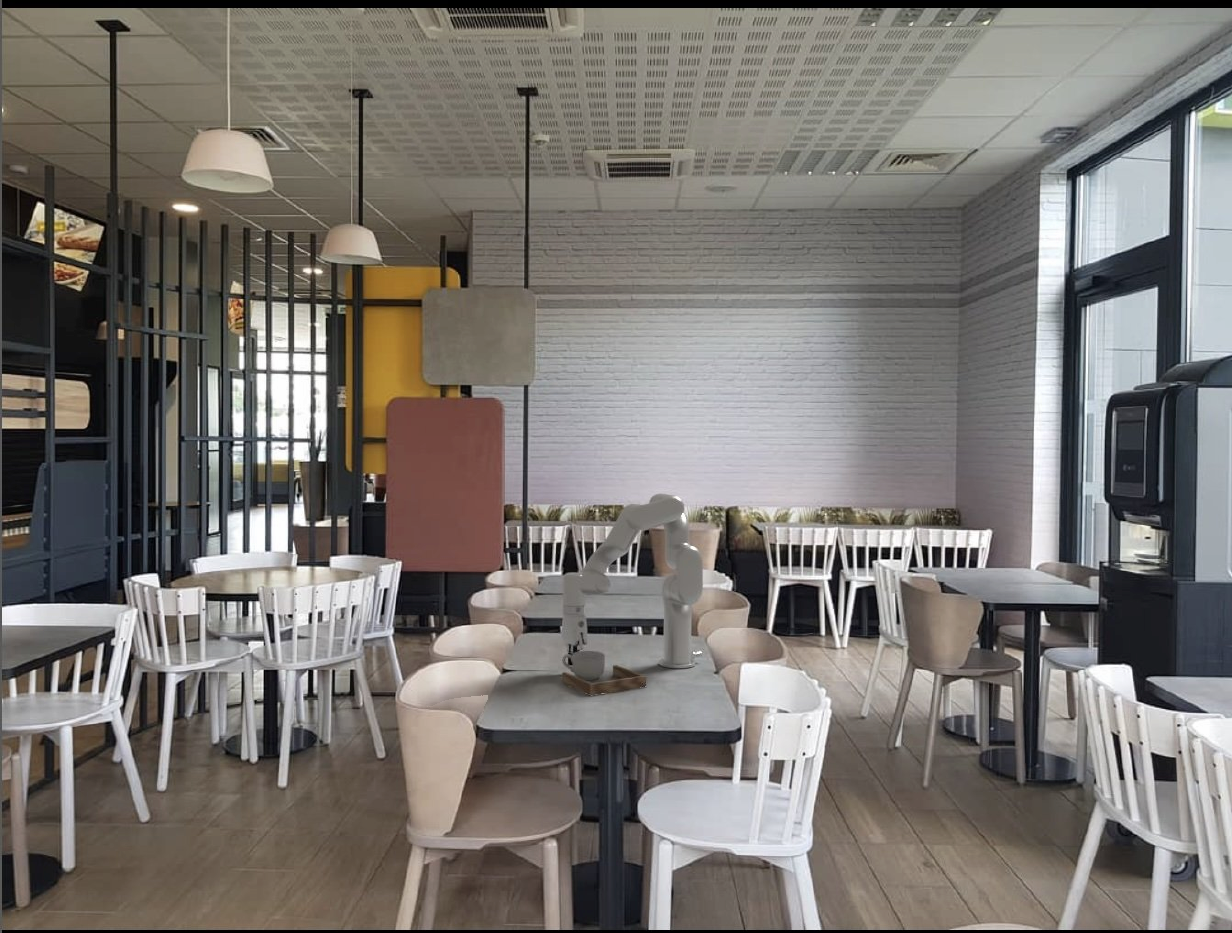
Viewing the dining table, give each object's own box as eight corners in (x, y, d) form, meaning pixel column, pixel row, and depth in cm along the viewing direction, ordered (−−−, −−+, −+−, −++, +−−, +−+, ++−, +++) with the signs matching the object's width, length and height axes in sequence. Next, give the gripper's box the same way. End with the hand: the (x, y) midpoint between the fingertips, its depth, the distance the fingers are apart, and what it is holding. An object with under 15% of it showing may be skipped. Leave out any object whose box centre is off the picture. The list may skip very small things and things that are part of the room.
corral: (615, 675, 322) (616, 665, 322) (646, 687, 307) (646, 676, 307) (562, 683, 311) (562, 672, 311) (590, 696, 296) (590, 684, 296)
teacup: (608, 675, 322) (609, 651, 322) (599, 683, 312) (599, 658, 311) (568, 672, 326) (569, 648, 325) (558, 680, 315) (558, 655, 315)
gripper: (595, 612, 320) (594, 668, 320) (572, 605, 332) (572, 659, 333) (575, 614, 316) (574, 670, 316) (553, 607, 329) (552, 661, 329)
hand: (573, 664), depth 325 cm, fingers closed
